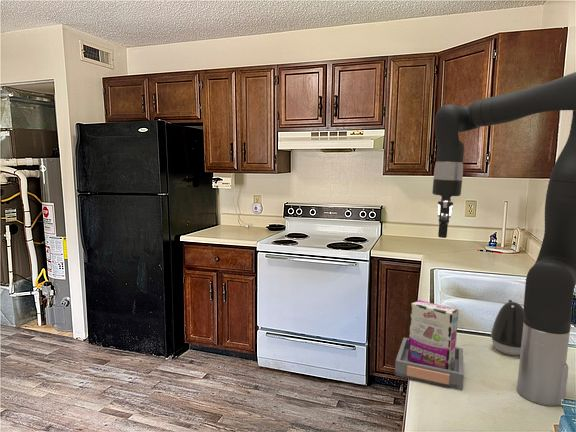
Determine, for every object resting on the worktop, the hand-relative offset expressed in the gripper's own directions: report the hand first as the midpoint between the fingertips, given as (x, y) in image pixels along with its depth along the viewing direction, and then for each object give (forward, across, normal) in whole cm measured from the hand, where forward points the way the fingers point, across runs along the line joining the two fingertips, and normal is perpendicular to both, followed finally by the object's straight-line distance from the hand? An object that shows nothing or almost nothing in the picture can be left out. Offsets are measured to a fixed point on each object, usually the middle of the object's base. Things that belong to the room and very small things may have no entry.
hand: (442, 235), depth 115 cm
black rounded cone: (+35, +9, -21) cm, 42 cm away
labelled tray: (+35, -12, 0) cm, 37 cm away
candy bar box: (+34, -12, 0) cm, 36 cm away
